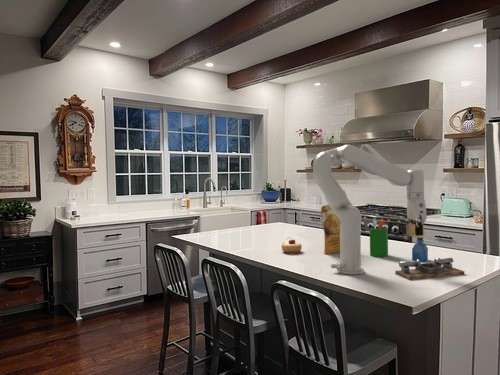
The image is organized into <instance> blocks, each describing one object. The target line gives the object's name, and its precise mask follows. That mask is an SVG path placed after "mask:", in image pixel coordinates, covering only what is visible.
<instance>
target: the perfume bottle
mask: <svg viewBox="0 0 500 375" xmlns="http://www.w3.org/2000/svg"><path fill="white" fill-rule="evenodd" d="M415 242H416V243H415V244H414V246H412V249H411V261H416V260H420V262H421V263H425V262H427V261H428V260H429V259H428V258H429V254H428V253H429V251H428V250H429V247H428V246H427V245H426V243H424V237H416V240H415Z"/></svg>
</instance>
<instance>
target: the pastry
mask: <svg viewBox="0 0 500 375" xmlns="http://www.w3.org/2000/svg"><path fill="white" fill-rule="evenodd" d="M288 239H289V237H287V238H286V239H285V240H286V242H283V243H282V244H281V250H282V252H283V253H284V252H285V254H289V253H295V254H299V253H300V252H301V250H302V243H300V242H297V241H296V240H295V239H292V238H290V239H289V240H288ZM287 240H288V241H287Z"/></svg>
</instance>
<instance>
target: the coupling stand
mask: <svg viewBox="0 0 500 375" xmlns="http://www.w3.org/2000/svg"><path fill="white" fill-rule="evenodd" d="M394 272H395V275H396V276H399V277H401V278H404V279H406V280H407V281H410V280H411V281H412V280H423V279H431V278H432V279H433V278H442V277H453V276H462V275H463V276H464V275H465V270H462V269H458V268H455V267H453V266H452V269H446V268H444V267H443V265H442V266H439V265H436V264H434V263H433V262H426V263H425V262H423V263H421V268H416V267H414V269H413V268H412V269H411V268H410V273H404V272H402V271H401V269H400V270H395V271H394Z"/></svg>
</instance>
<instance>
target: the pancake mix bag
mask: <svg viewBox="0 0 500 375" xmlns="http://www.w3.org/2000/svg"><path fill="white" fill-rule="evenodd" d="M320 214H321V220H322V222H321V223H322V229H323V235H324V236H323V237H324V252H323V254H325V255H331V253H332V254H336V253H338V252H339V253H340V224H341V221H340V219H339V218H338V217H337V216H336V214H335V213H334V211H333V210H332V209H331V207H330V206H329V204H327V205H322V206H321V207H320ZM335 252H336V253H335Z"/></svg>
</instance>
